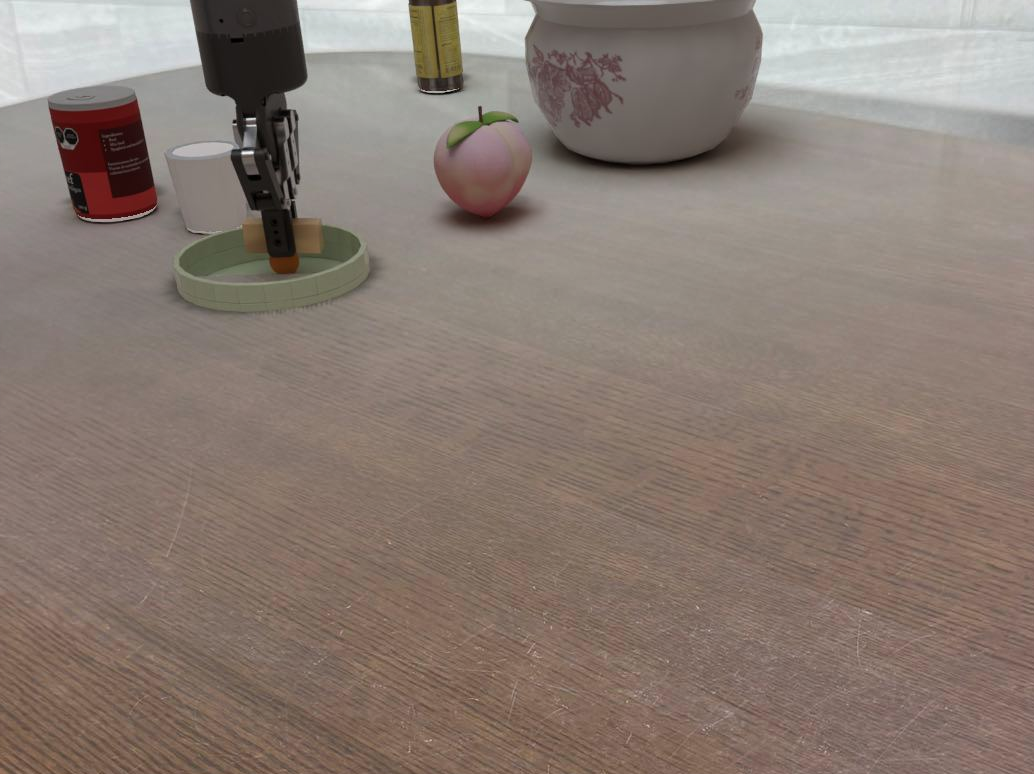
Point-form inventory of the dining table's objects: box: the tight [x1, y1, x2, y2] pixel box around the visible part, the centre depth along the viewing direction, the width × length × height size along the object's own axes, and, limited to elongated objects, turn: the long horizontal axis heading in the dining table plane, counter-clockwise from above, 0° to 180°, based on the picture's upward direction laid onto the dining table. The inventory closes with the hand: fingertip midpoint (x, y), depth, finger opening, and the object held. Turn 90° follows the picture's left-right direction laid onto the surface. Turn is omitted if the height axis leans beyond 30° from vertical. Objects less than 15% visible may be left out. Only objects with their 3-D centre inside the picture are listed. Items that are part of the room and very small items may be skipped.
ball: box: [269, 253, 299, 275], centre depth 98 cm, size 2×2×2 cm
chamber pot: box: [524, 0, 764, 166], centre depth 125 cm, size 28×28×21 cm
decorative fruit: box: [433, 105, 533, 219], centre depth 109 cm, size 9×8×10 cm
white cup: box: [164, 139, 248, 232], centre depth 111 cm, size 7×7×7 cm
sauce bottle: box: [408, 0, 464, 91], centre depth 154 cm, size 6×6×20 cm
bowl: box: [172, 222, 371, 313], centre depth 96 cm, size 15×15×4 cm
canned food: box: [47, 85, 158, 219], centre depth 114 cm, size 8×8×11 cm
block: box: [242, 217, 324, 254], centre depth 96 cm, size 6×2×2 cm, turn 89°
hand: (285, 251), depth 96 cm, fingers closed on block
